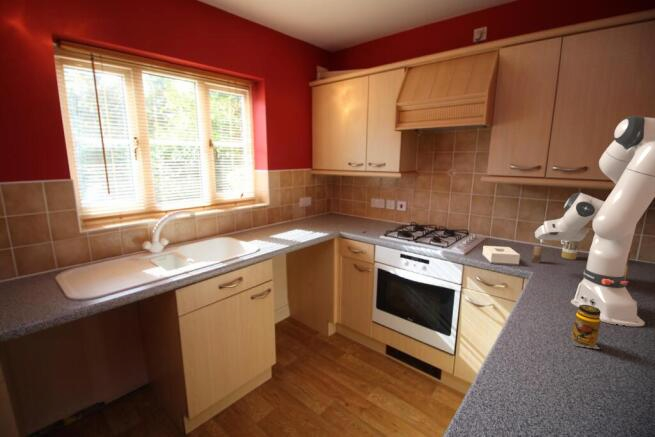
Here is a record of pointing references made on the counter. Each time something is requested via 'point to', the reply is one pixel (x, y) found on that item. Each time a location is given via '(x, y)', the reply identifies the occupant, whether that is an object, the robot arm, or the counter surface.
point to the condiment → (586, 325)
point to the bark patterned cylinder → (570, 250)
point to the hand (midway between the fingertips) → (552, 242)
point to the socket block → (501, 255)
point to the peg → (537, 254)
